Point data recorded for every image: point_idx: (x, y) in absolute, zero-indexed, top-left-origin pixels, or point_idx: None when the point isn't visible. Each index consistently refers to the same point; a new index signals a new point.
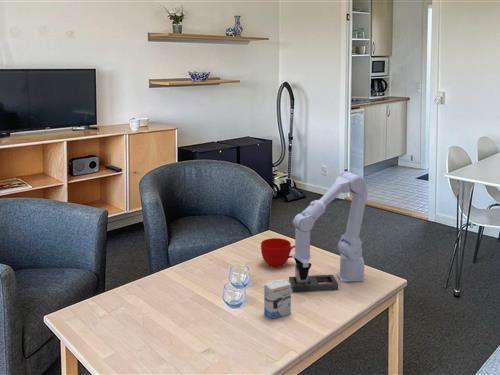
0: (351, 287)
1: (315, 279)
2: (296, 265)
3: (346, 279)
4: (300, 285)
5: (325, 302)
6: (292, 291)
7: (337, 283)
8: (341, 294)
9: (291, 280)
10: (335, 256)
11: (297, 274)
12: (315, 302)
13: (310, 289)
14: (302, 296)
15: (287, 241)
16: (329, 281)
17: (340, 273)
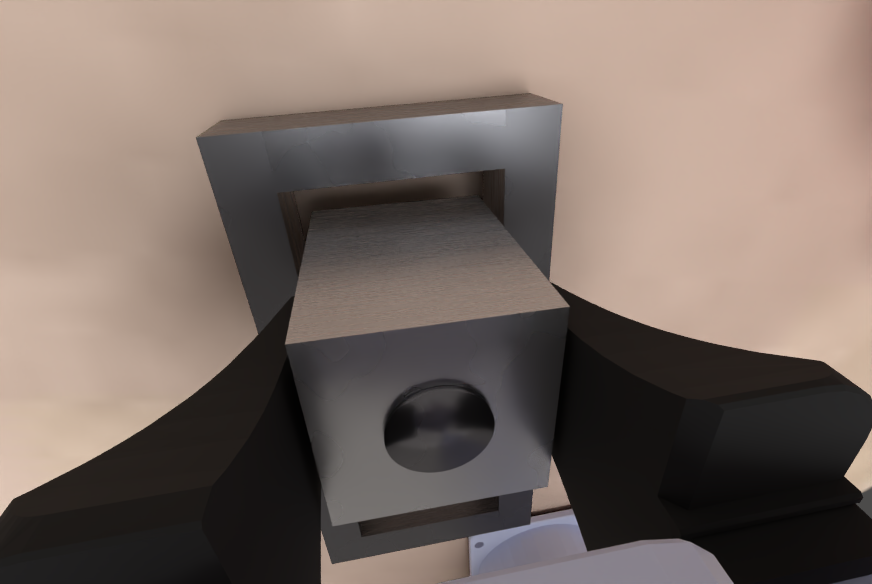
0: (383, 570)
1: None
2: (548, 330)
3: (486, 559)
4: (266, 256)
5: (56, 442)
6: (233, 120)
7: (351, 558)
8: None
9: (429, 134)
10: (865, 485)
11: (300, 290)
12: (16, 365)
13: None
14: (132, 240)
15: None
16: None
17: (545, 558)
